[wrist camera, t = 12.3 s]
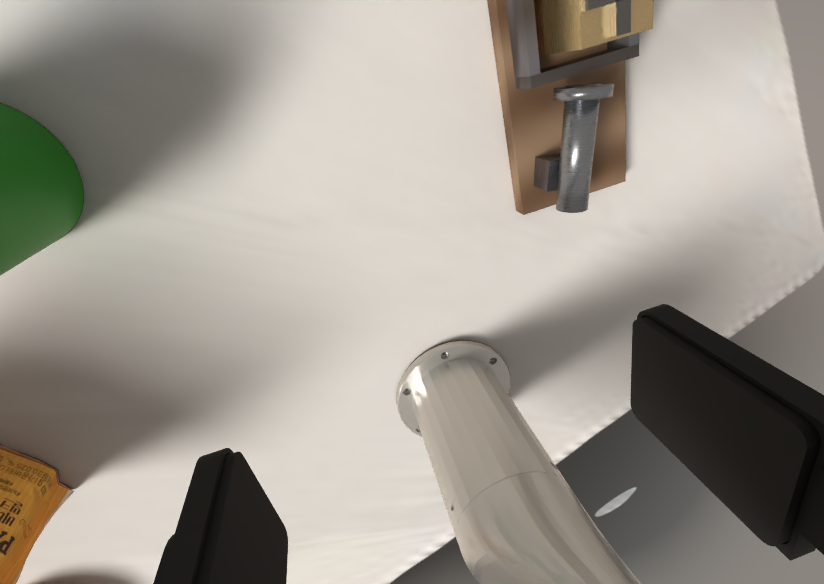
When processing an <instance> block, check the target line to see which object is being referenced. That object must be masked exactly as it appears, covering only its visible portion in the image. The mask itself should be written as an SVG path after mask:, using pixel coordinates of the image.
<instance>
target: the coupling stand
mask: <svg viewBox="0 0 824 584" xmlns="http://www.w3.org/2000/svg"><path fill="white" fill-rule="evenodd" d="M487 1H488V8H489V16H490V23H491V30H492V38H493V45H494V52H495V60H496V67H497V74H498V81H499V89H500V96H501V103H502V111H503V118H504V125H505V133H506V140H507V147H508V154H509V162H510V169H511V176H512V184H513V191H514V198H515V206H516V211H518V212H520V213H521V214H523V215H525V214H528V213H531V212H534V211H537V210H540V209H543V208H546V207H549V206H552V205H555V204H556V201H557V190H555V191H548V192H547V191H544V190H542V189H540V188H537V187H535V186H534V167H535V157H540V156H548V155H556V154H560V150H561V137H562V124H563V111H564V101H553V91H554V88H557V87H565V86H567V85H576V84H589V83H602V84H614V89H613V97H610V98H603V99H600V103H599V112H598V121H597V130H596V138H595V147H594V156H593V165H592V174H591V183H590V192H589V193H591V192H594V191H597V190H600V189H603V188H606V187H609V186H612V185H615V184H618V183H621V182H624V181H625V60H627V59H630V58H634V57H637V56H639V33H636V34H632V35H629V36H626V37H622V38H619V39H616V40H612V41H609V42H606V43H602V44H599V45H595V46H592V47H589V48H585V49H582V50H575V51H568V52H562V53H555V54H548V55H541V56H539V52H538V41H537V30H536V19H535V8H534V0H487Z"/></svg>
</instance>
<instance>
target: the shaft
mask: <svg viewBox="0 0 824 584" xmlns="http://www.w3.org/2000/svg"><path fill="white" fill-rule="evenodd" d="M613 89H614V84H602V83H589V84H576V85H567V86H565V87H557V88H554V91H553V101H564V111H563V124H562V137H561V150H560V154H556V155H548V156H540V157H535V167H534V186H535V187H537V188H540V189H542V190H544V191H547V192H548V191H555V190H557V201H556V209H557V210H558V211H561V212H568V213H577V212H583V211H586V210H587V209H588V201H589V192H590V183H591V174H592V165H593V156H594V147H595V138H596V130H597V121H598V112H599V103H600V99H603V98H610V97H613Z"/></svg>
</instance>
